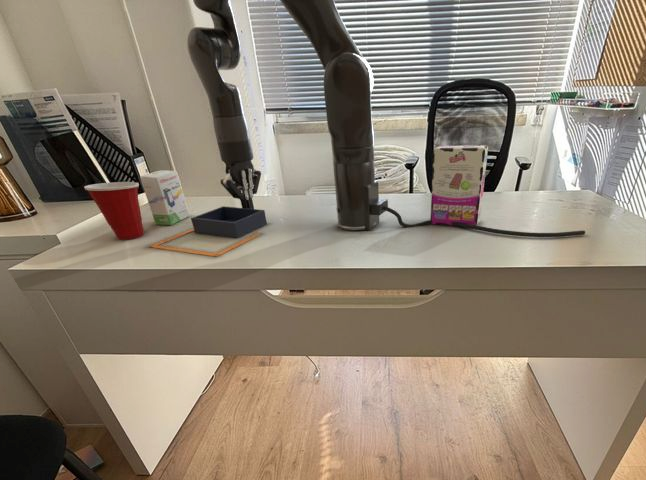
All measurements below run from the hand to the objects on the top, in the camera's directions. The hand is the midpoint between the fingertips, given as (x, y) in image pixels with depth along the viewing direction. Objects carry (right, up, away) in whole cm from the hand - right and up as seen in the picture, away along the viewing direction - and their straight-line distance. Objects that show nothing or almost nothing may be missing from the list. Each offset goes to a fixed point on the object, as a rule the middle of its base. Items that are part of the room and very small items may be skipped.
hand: (249, 213), depth 100 cm
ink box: (-22, -1, +3) cm, 22 cm away
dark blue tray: (-3, -5, -5) cm, 8 cm away
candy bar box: (+52, -5, -8) cm, 53 cm away
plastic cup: (-27, -8, -6) cm, 28 cm away
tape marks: (-6, -10, -11) cm, 16 cm away
